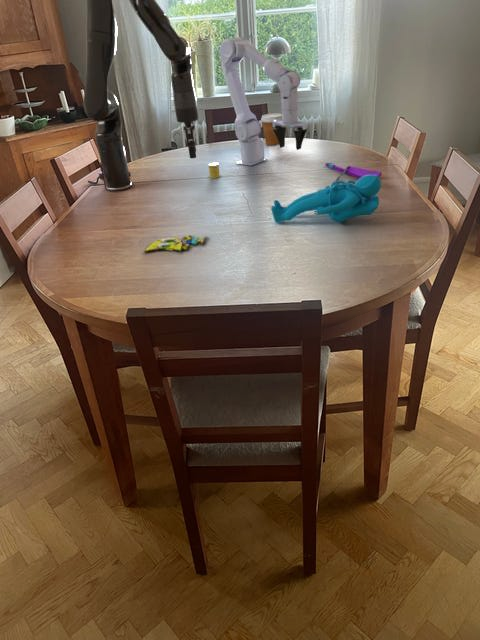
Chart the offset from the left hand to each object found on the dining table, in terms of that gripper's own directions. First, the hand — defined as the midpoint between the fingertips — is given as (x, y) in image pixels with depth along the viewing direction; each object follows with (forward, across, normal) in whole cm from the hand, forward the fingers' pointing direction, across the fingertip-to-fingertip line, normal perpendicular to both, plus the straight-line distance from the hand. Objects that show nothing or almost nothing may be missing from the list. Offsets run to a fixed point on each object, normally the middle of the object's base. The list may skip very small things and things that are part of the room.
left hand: (193, 155), depth 169 cm
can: (+11, +8, -7) cm, 15 cm away
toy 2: (+12, -46, -36) cm, 60 cm away
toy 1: (+11, -53, +6) cm, 54 cm away
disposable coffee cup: (+11, +50, -35) cm, 62 cm away
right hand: (+4, +10, -36) cm, 38 cm away
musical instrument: (+12, -9, -52) cm, 54 cm away
